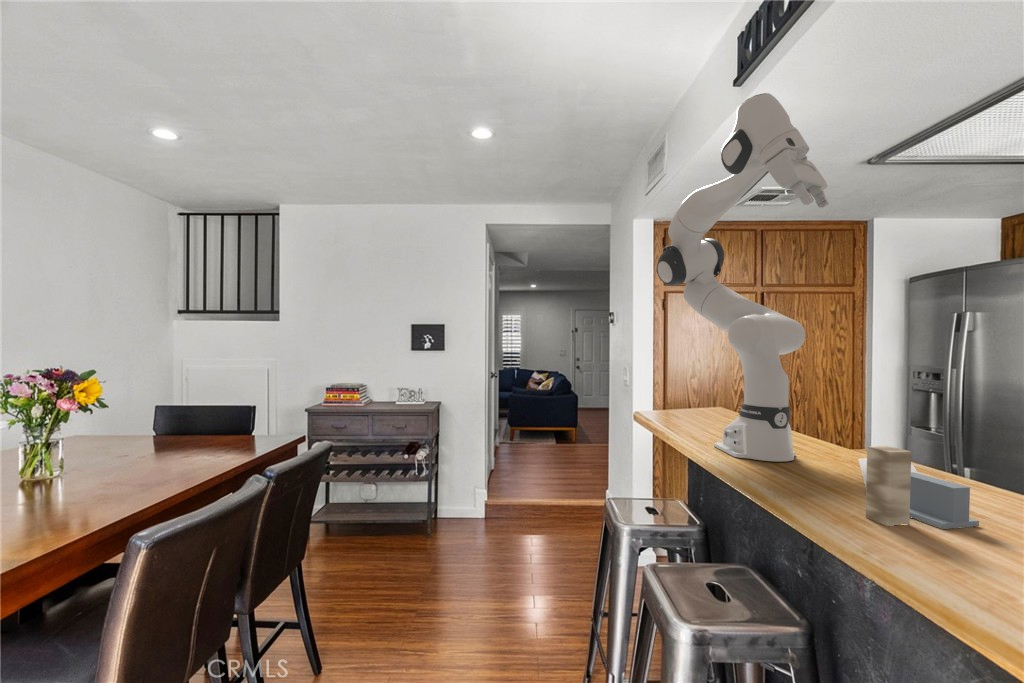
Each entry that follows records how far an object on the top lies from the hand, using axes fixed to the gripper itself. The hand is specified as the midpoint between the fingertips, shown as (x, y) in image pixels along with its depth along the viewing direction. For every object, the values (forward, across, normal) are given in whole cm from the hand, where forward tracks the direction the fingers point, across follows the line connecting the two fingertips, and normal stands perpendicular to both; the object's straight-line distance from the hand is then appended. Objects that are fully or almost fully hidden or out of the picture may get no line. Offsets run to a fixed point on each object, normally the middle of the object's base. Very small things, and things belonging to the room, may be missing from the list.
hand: (817, 204), depth 112 cm
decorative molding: (+62, -10, -19) cm, 66 cm away
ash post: (+61, +20, -12) cm, 66 cm away
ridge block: (+64, +11, -8) cm, 66 cm away
